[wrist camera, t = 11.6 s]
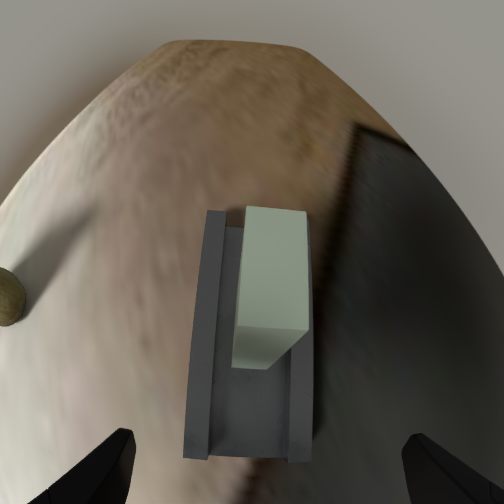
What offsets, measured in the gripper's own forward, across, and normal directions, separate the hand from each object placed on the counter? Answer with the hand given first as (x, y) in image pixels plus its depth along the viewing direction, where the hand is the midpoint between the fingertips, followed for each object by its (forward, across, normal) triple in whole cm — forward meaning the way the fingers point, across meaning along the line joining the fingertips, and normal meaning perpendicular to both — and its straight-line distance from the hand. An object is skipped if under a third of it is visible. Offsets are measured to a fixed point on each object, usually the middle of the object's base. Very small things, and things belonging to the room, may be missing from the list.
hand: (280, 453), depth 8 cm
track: (+14, 0, +5) cm, 15 cm away
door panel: (+14, 0, +4) cm, 14 cm away
